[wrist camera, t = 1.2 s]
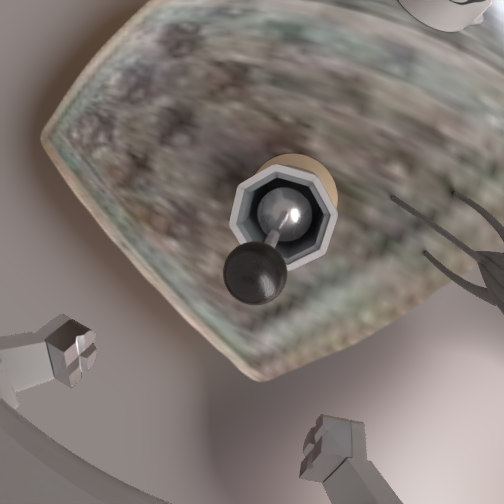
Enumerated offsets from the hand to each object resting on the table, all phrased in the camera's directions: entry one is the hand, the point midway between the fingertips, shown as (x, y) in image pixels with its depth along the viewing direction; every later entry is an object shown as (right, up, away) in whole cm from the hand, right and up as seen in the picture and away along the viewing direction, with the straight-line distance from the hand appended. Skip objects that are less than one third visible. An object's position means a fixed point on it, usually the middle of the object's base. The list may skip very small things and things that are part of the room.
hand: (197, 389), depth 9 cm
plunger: (+5, +9, +25) cm, 27 cm away
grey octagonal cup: (+8, +13, +35) cm, 38 cm away
